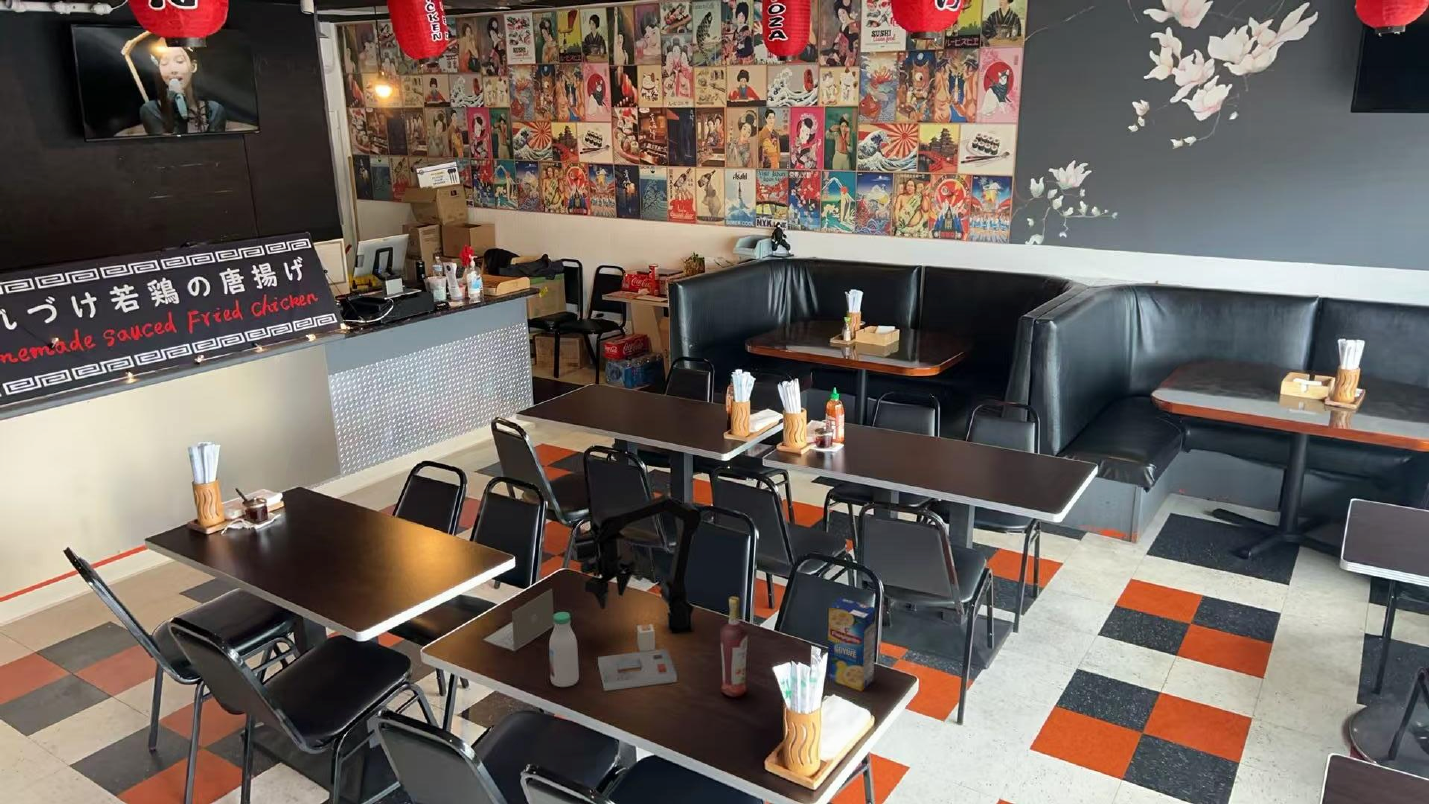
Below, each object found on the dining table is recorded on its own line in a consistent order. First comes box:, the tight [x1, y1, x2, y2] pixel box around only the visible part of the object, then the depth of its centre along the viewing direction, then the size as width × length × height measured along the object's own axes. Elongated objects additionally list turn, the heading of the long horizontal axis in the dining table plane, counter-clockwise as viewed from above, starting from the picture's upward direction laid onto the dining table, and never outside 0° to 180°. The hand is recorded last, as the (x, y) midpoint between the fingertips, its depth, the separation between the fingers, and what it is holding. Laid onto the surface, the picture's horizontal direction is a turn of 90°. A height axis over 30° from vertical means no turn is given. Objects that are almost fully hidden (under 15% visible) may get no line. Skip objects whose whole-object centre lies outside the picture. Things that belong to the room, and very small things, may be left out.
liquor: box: [719, 596, 749, 698], centre depth 271 cm, size 7×7×28 cm
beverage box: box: [826, 597, 877, 692], centre depth 278 cm, size 7×11×22 cm, turn 54°
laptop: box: [483, 588, 555, 652], centre depth 305 cm, size 18×12×13 cm
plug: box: [636, 623, 656, 652], centre depth 298 cm, size 4×4×7 cm
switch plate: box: [597, 648, 678, 692], centre depth 284 cm, size 20×14×3 cm
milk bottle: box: [548, 611, 580, 688], centre depth 278 cm, size 8×8×20 cm
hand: (612, 602), depth 298 cm, fingers open, 9 cm apart
